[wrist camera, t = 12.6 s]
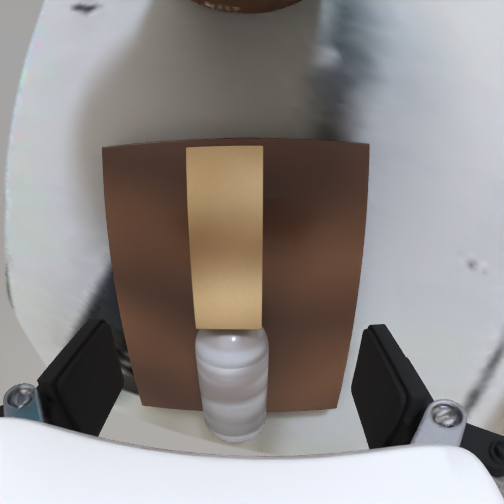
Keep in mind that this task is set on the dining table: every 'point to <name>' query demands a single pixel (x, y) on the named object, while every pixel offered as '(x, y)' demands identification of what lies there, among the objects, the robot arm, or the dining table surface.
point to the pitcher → (247, 5)
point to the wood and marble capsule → (228, 287)
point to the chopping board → (273, 265)
